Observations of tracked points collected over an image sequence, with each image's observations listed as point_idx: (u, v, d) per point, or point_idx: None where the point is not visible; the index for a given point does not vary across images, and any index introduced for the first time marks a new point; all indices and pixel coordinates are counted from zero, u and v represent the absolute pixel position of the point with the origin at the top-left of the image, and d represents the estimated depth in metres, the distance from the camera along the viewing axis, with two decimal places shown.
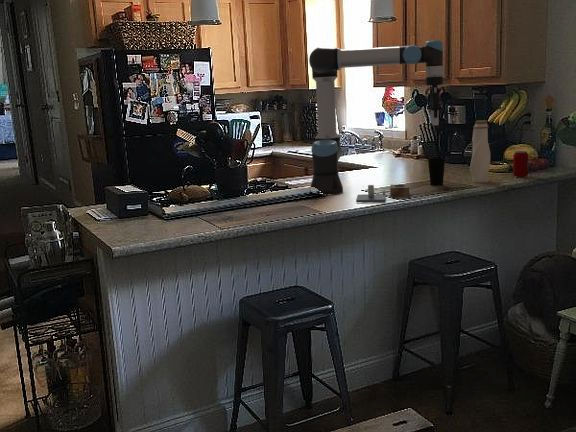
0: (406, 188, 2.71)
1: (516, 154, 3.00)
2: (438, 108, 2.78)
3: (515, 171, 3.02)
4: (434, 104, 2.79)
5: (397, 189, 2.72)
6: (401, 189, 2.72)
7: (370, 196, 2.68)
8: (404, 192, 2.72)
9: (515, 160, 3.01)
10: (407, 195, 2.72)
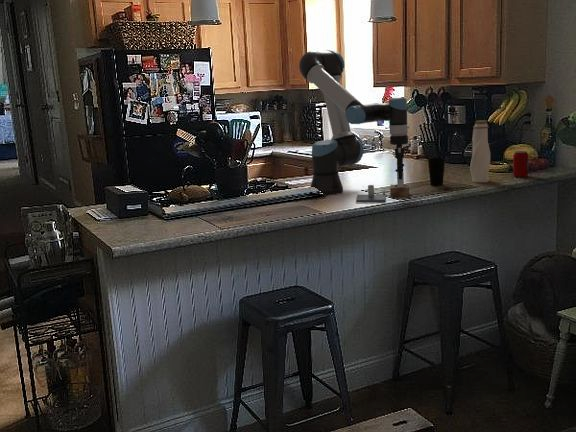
0: (406, 188, 2.71)
1: (516, 154, 3.00)
2: (402, 170, 2.64)
3: (515, 171, 3.02)
4: (398, 165, 2.64)
5: (397, 189, 2.72)
6: (401, 189, 2.72)
7: (370, 196, 2.68)
8: (404, 192, 2.72)
9: (515, 160, 3.01)
10: (407, 195, 2.72)
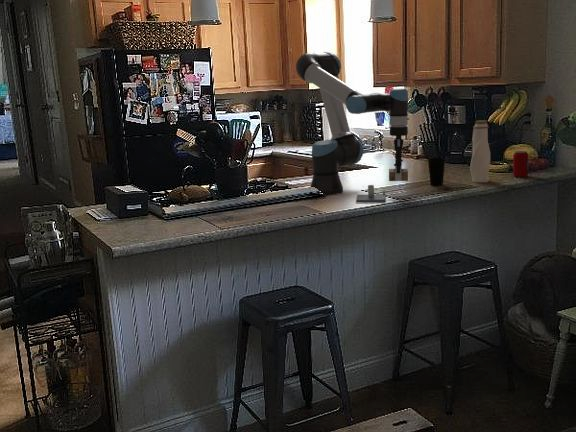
0: (405, 172, 2.70)
1: (516, 154, 3.00)
2: (401, 164, 2.66)
3: (515, 171, 3.02)
4: (397, 160, 2.66)
5: None
6: None
7: (370, 196, 2.68)
8: (403, 176, 2.71)
9: (515, 160, 3.01)
10: (406, 179, 2.71)
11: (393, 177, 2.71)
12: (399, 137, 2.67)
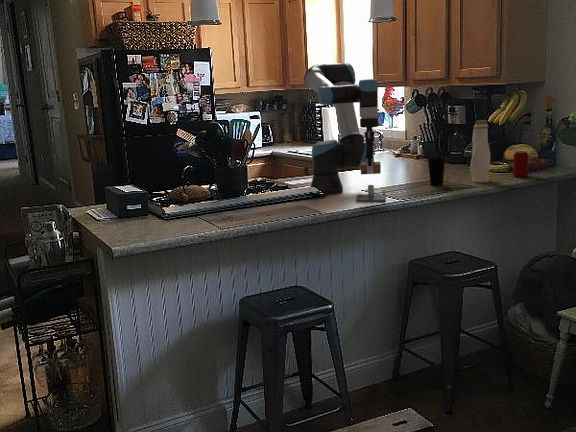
0: (377, 165, 2.62)
1: (516, 154, 3.00)
2: (372, 156, 2.58)
3: (515, 171, 3.02)
4: (367, 152, 2.58)
5: None
6: None
7: (370, 196, 2.68)
8: (375, 169, 2.62)
9: (515, 160, 3.01)
10: (378, 172, 2.62)
11: (365, 170, 2.63)
12: (369, 129, 2.59)
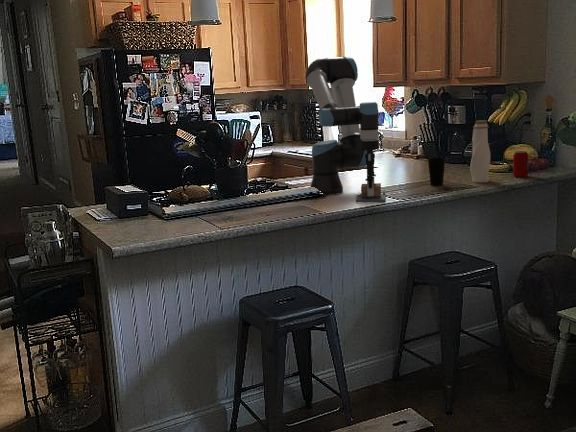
0: (377, 187, 2.64)
1: (516, 154, 3.00)
2: (372, 179, 2.60)
3: (515, 171, 3.02)
4: (368, 175, 2.60)
5: None
6: None
7: (370, 196, 2.68)
8: (375, 191, 2.65)
9: (515, 160, 3.01)
10: (378, 194, 2.65)
11: (365, 192, 2.65)
12: (370, 151, 2.61)
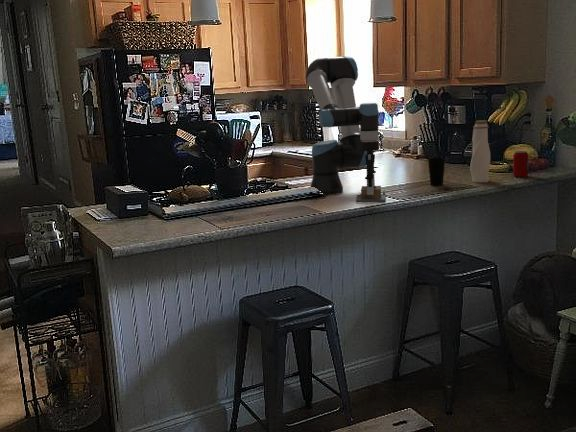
0: (377, 190, 2.64)
1: (516, 154, 3.00)
2: (372, 177, 2.58)
3: (515, 171, 3.02)
4: (368, 173, 2.58)
5: None
6: None
7: None
8: (375, 194, 2.65)
9: (515, 160, 3.01)
10: (378, 197, 2.65)
11: (365, 195, 2.66)
12: (370, 152, 2.62)
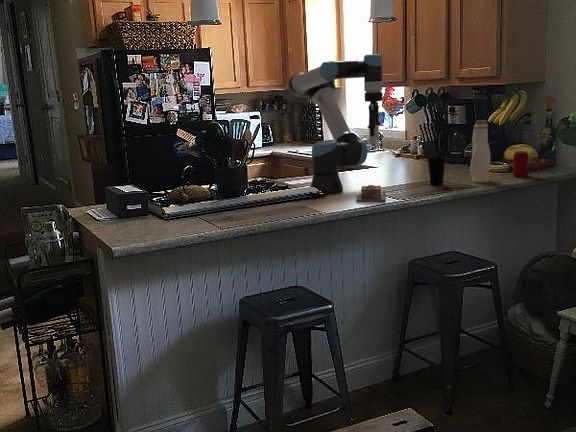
0: (377, 190, 2.64)
1: (516, 154, 3.00)
2: (374, 126, 2.63)
3: (515, 171, 3.02)
4: (370, 122, 2.64)
5: (368, 191, 2.65)
6: (372, 191, 2.65)
7: None
8: (375, 194, 2.65)
9: (515, 160, 3.01)
10: (378, 197, 2.65)
11: (365, 195, 2.66)
12: (373, 102, 2.67)
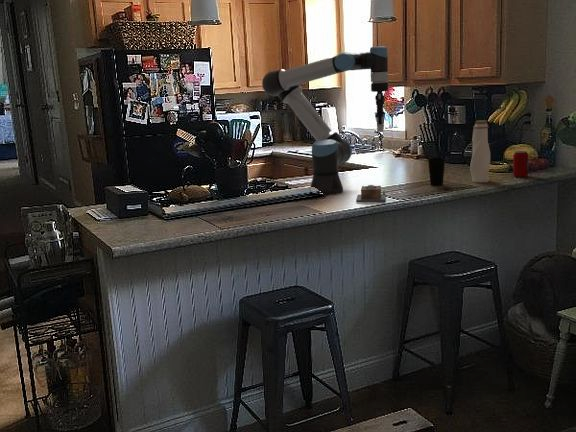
0: (377, 190, 2.64)
1: (516, 154, 3.00)
2: (382, 115, 2.76)
3: (515, 171, 3.02)
4: (378, 111, 2.76)
5: (368, 191, 2.65)
6: (372, 191, 2.65)
7: None
8: (375, 194, 2.65)
9: (515, 160, 3.01)
10: (378, 197, 2.65)
11: (365, 195, 2.66)
12: (380, 92, 2.80)
